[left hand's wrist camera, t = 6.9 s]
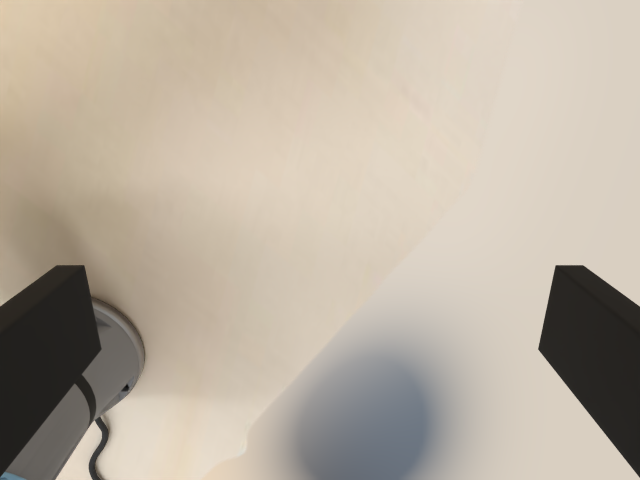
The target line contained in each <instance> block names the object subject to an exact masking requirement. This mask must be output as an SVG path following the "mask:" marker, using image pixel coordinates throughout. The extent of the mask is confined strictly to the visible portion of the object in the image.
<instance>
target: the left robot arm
mask: <svg viewBox="0 0 640 480" xmlns="http://www.w3.org/2000/svg"><path fill="white" fill-rule="evenodd" d="M538 350H539V351H540V352H541V353H542V355H543V356H544V357H545V358H546V360H547V361H548V362H549V364H550V365H551V366H552V367H553V369H554V370H555V371H556V372H557V374H558V375H559V376H560V377H561V379H562V380H563V381H564V382H565V384H566V385H567V386H568V387H569V389H570V390H571V391H572V393H573V394H574V395H575V396H576V398H577V399H578V400H579V401H580V403H581V404H582V405H583V406H584V408H585V409H586V410H587V411H588V413H589V414H590V415H591V417H592V418H593V419H594V420H595V422H596V423H597V424H598V425H599V427H600V428H601V429H602V430H603V432H604V433H605V434H606V435H607V437H608V438H609V439H610V441H611V442H612V443H613V444H614V446H615V447H616V448H617V449H618V451H619V452H620V453H621V454H622V456H623V457H624V458H625V459H626V461H627V462H628V463H629V465H630V466H631V467H632V468H633V470H634V471H635V472H636V473H637V475H638V476H639V477H640V306H638V305H637V304H635V303H634V302H633V301H631V300H630V299H629V298H627V297H626V296H624V295H623V294H622V293H620V292H619V291H618V290H616V289H615V288H613V287H612V286H611V285H609V284H608V283H607V282H605V281H604V280H602V279H601V278H600V277H598V276H597V275H596V274H594V273H593V272H591V271H590V270H589V269H587V268H586V267H585V266H583V265H556V267H555V271H554V276H553V281H552V286H551V290H550V295H549V300H548V305H547V310H546V314H545V319H544V324H543V329H542V334H541V338H540V343H539V348H538ZM144 359H145V358H144V348H143V344H142V341H141V339H140V336H139V335H138V333H137V331H136V329H135V328H134V326H133V325H132V324H131V323H130V321H129V320H128V319H127V318H126V317H125V316H124V315H122V314H121V313H120V312H119V311H117V310H116V309H115V308H113V307H112V306H110V305H108V304H106V303H104V302H102V301H100V300H97V299H94V298H91V295H90V290H89V285H88V281H87V276H86V271H85V266H84V265H57V266H55V267H54V268H53V269H51V270H50V271H48V272H47V273H46V274H44V275H43V276H42V277H40V278H39V279H38V280H36V281H35V282H33V283H32V284H31V285H29V286H28V287H27V288H25V289H24V290H22V291H21V292H20V293H18V294H17V295H16V296H14V297H13V298H11V299H10V300H9V301H7V302H6V303H5V304H3V305H2V306H0V480H55V479H56V478H57V476H58V474H59V473H60V471H61V470H62V468H63V467H64V465H65V464H66V462H67V461H68V459H69V457H70V456H71V454H72V453H73V451H74V450H75V448H76V447H77V445H78V443H79V442H80V440H81V439H82V437H83V436H84V434H85V432H86V431H87V429H88V428H89V426H90V425H91V423H92V422H93V421H94V420H95V422H96V424H97V425H98V427H99V428H100V429H101V431H102V440H101V443H100V445H99V446H98V448H97V449H96V451H95V452H94V453H93V455H92V457H91V459H90V462H89V472H90V475H91V477H92V479H93V480H100V479H99V477H98V476H97V474H96V471H95V461H96V459H97V457H98V456H99V454H100V453H101V451H102V450H103V448H104V447H105V445H106V443H107V440H108V429H107V427H106V425H105V424H104V422H103V421H102V419H101V417H100V416H101V415H102V414H104V413H105V412H106V411H108V410H109V409H110V408H112V407H113V406H114V405H116V404H117V403H118V402H120V401H121V400H122V399H123V398H125V397H126V396H127V395H128V394H129V393H130V391H131V390H132V389H133V387H134V386H135V384H136V382H137V381H138V379H139V377H140V375H141V373H142V370H143V366H144Z"/></svg>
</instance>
